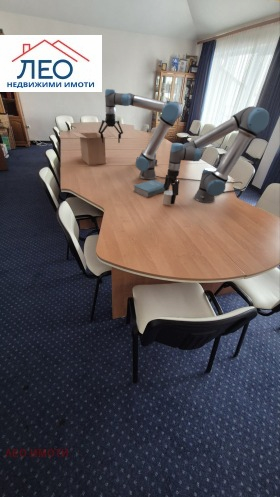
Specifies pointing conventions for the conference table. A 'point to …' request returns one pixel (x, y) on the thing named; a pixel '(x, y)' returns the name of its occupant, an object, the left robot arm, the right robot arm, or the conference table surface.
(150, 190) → the book
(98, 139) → the box
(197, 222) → the conference table surface
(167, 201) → the canister
